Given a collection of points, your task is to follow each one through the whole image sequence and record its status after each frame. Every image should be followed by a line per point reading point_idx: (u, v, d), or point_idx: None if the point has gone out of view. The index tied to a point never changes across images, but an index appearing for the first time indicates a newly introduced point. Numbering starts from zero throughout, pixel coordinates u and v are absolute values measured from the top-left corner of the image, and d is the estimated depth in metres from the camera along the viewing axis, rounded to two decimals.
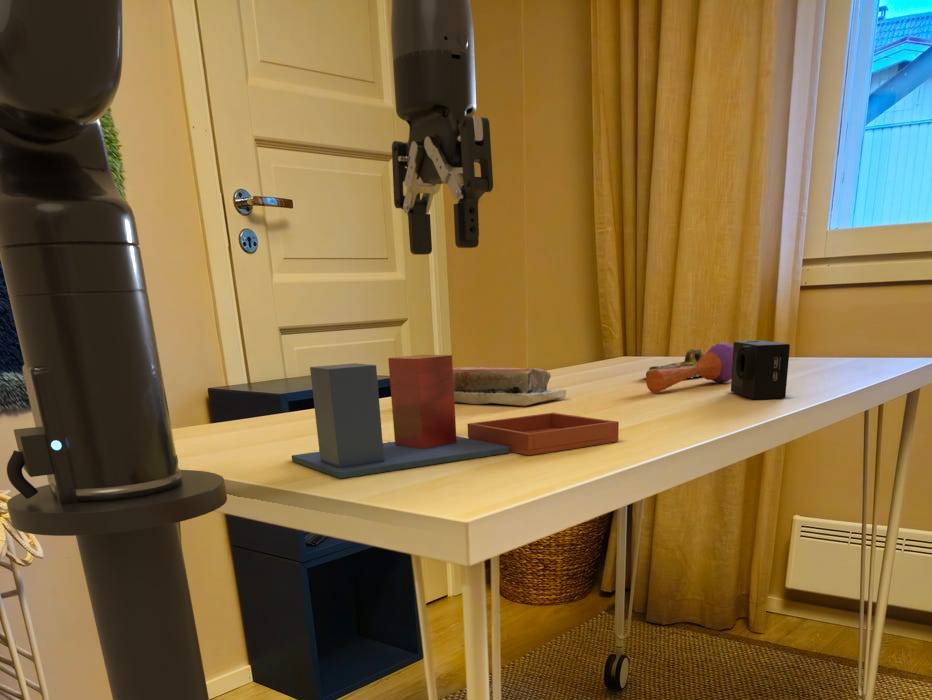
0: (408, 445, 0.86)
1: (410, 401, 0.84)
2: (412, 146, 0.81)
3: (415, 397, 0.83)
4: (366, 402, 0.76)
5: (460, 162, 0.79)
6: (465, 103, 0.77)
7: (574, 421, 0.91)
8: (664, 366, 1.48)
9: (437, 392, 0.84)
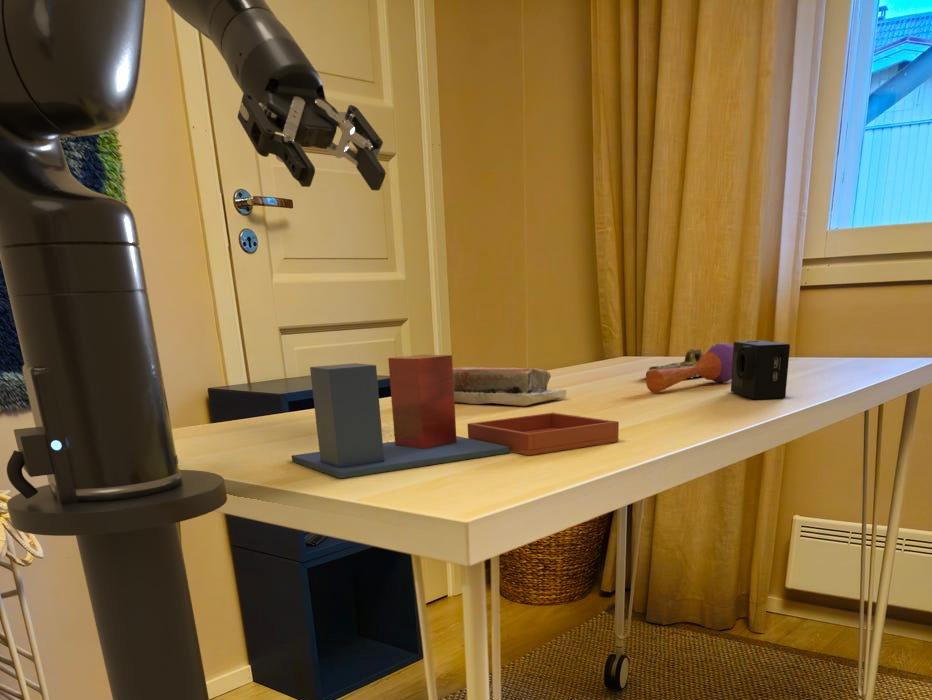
0: (408, 445, 0.86)
1: (410, 401, 0.84)
2: (296, 98, 0.86)
3: (415, 397, 0.83)
4: (366, 402, 0.76)
5: None
6: None
7: (574, 421, 0.91)
8: (664, 366, 1.48)
9: (437, 392, 0.84)
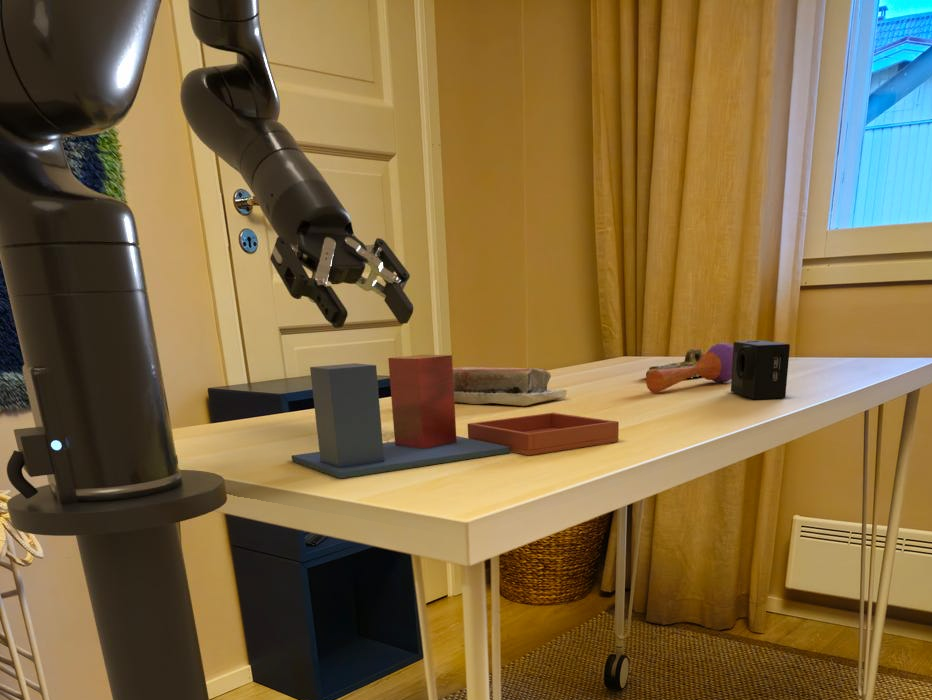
0: (408, 445, 0.86)
1: (410, 401, 0.84)
2: (327, 239, 0.88)
3: (415, 397, 0.83)
4: (366, 402, 0.76)
5: None
6: None
7: (574, 421, 0.91)
8: (664, 366, 1.48)
9: (437, 392, 0.84)
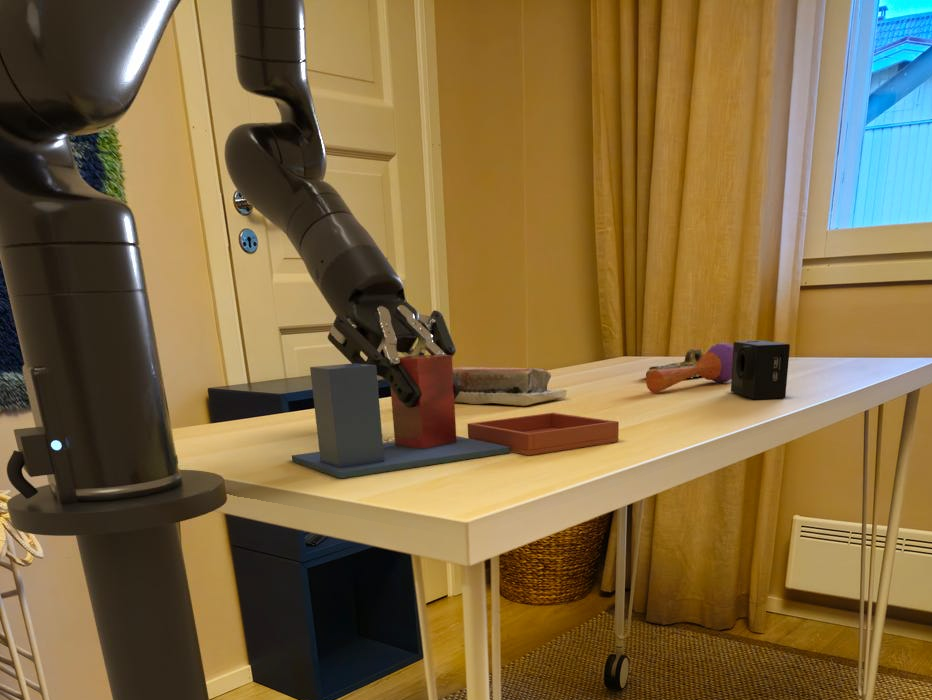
0: (408, 445, 0.86)
1: None
2: (380, 309, 0.84)
3: None
4: (366, 402, 0.76)
5: None
6: None
7: (574, 421, 0.91)
8: (664, 366, 1.48)
9: (437, 391, 0.84)
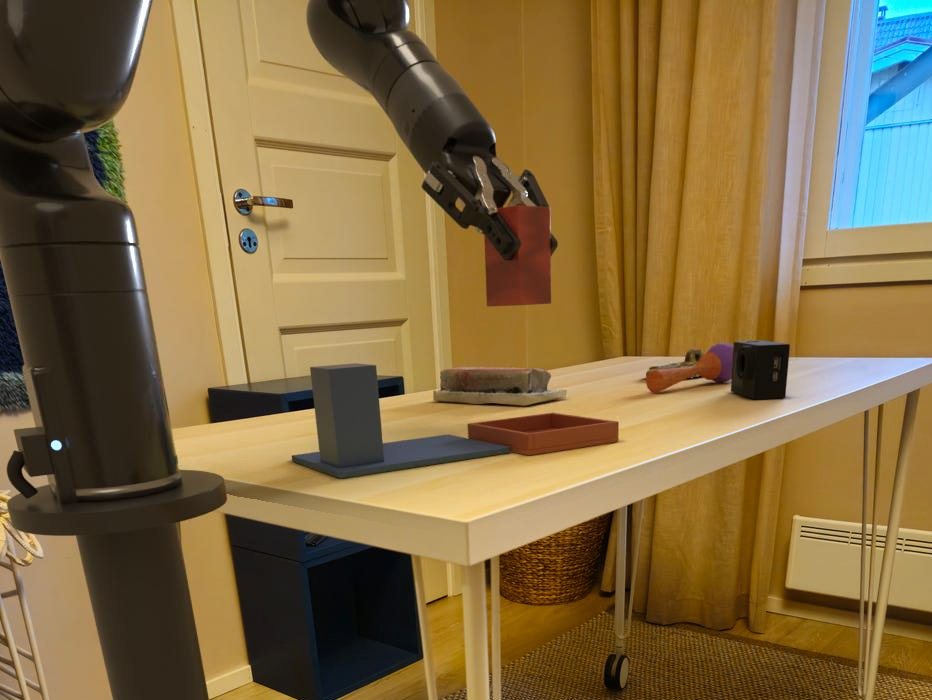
0: (502, 304, 0.82)
1: None
2: (476, 158, 0.81)
3: None
4: (366, 402, 0.76)
5: None
6: None
7: (574, 421, 0.91)
8: (664, 366, 1.48)
9: (534, 245, 0.80)
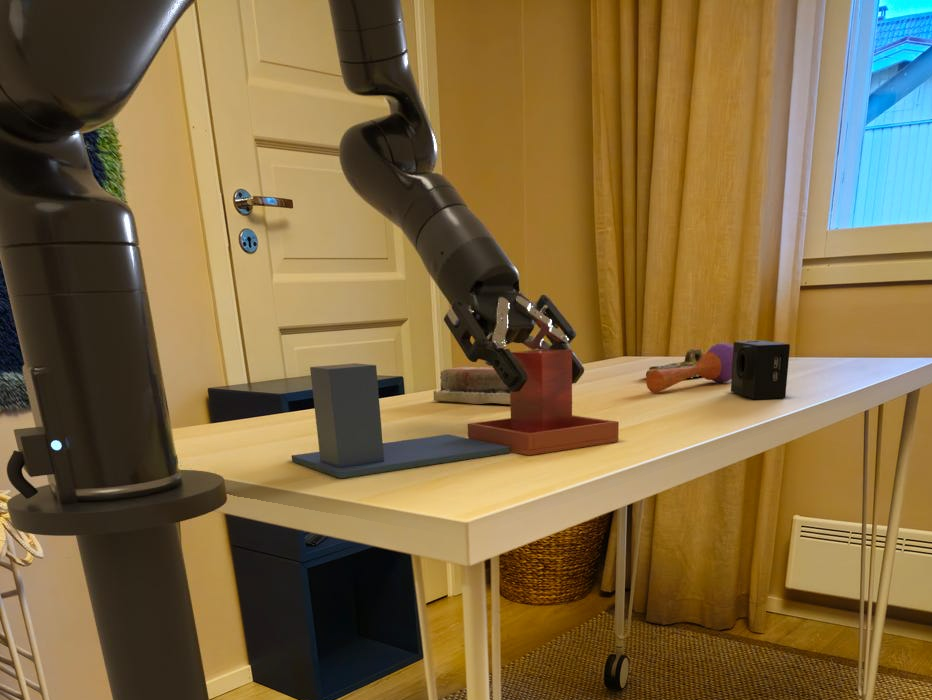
0: None
1: (532, 395, 0.85)
2: (501, 299, 0.85)
3: (537, 391, 0.84)
4: (366, 402, 0.76)
5: None
6: None
7: (574, 421, 0.91)
8: (664, 366, 1.48)
9: (557, 385, 0.85)
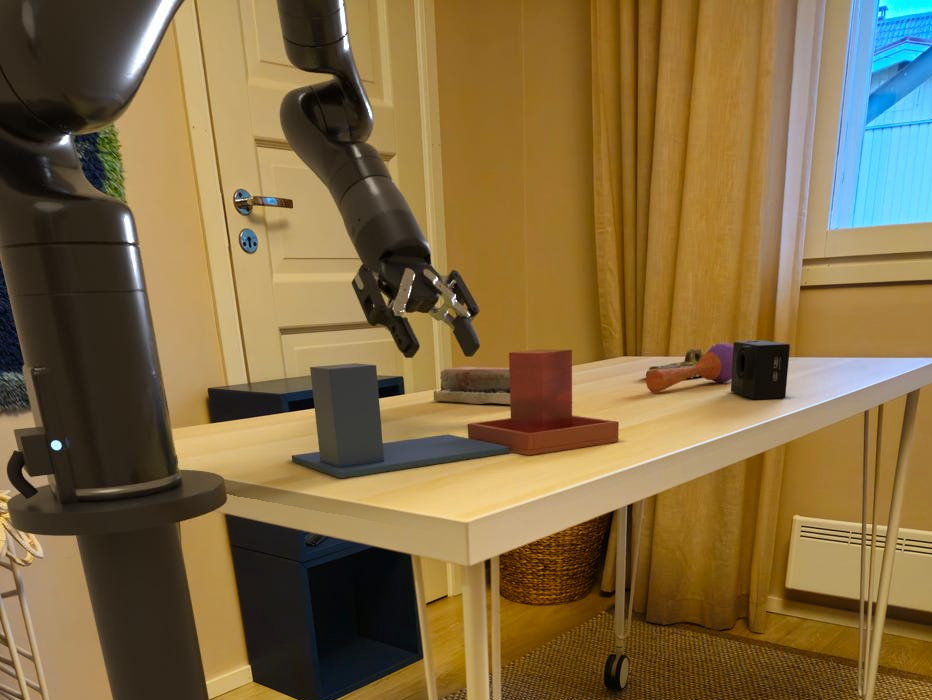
0: None
1: (532, 395, 0.85)
2: (407, 270, 0.92)
3: (537, 391, 0.84)
4: (366, 402, 0.76)
5: None
6: None
7: (574, 421, 0.91)
8: (664, 366, 1.48)
9: (557, 385, 0.85)
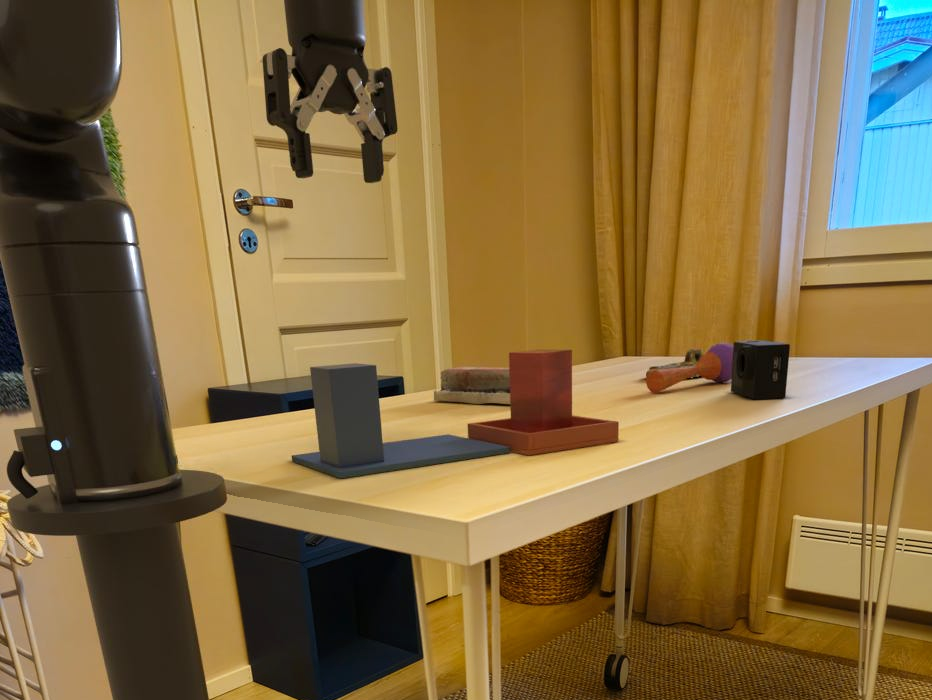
0: None
1: (532, 395, 0.85)
2: (329, 69, 0.82)
3: (537, 391, 0.84)
4: (366, 402, 0.76)
5: None
6: None
7: (574, 421, 0.91)
8: (664, 366, 1.48)
9: (557, 385, 0.85)
